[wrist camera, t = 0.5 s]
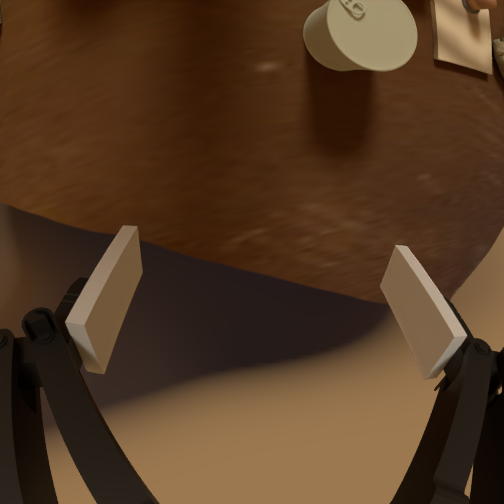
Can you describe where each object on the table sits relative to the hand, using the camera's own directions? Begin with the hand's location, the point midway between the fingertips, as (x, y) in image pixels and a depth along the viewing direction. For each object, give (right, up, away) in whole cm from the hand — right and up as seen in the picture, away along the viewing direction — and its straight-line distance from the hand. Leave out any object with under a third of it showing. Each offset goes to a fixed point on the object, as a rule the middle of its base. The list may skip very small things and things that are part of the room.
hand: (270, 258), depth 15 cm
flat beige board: (+29, +35, +10) cm, 46 cm away
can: (+10, +27, +15) cm, 32 cm away
